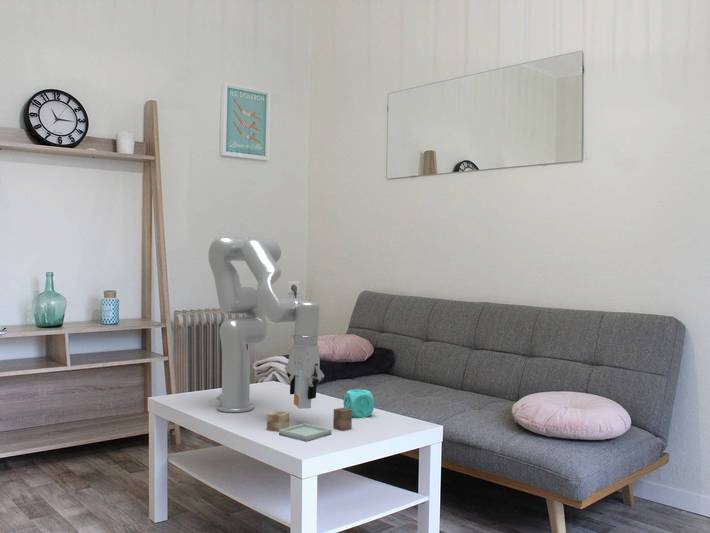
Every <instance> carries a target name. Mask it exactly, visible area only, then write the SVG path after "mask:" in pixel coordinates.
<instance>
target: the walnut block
mask: <svg viewBox="0 0 710 533" xmlns="http://www.w3.org/2000/svg"><path fill="white" fill-rule="evenodd" d="M332 419H333V421H332V422H333V424H332V425H333V426H332V428H333V429H334V430H337V431H340V432H344V431H349V429H350V430H352V428H353V426H352V422H353V417H352V410H351V409H347V408H344V407H338V408H333V418H332Z"/></svg>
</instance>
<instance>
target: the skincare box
mask: <svg viewBox="0 0 710 533" xmlns="http://www.w3.org/2000/svg"><path fill="white" fill-rule="evenodd" d="M309 386H310V384H309V381H308V378H303V377H302V371H300V374H299V377H298V376H295V388H294V394H293V404H294V405H295V406H296V407H297V409H300V410H301V409H302V410H303V409H311V408H312V399H308V387H309Z"/></svg>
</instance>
